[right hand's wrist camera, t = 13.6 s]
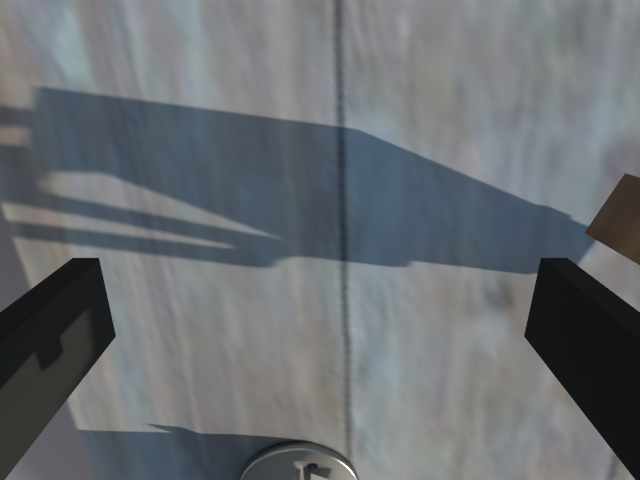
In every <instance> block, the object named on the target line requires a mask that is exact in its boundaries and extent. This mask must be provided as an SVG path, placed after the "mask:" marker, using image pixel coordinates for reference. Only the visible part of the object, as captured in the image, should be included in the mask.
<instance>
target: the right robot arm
mask: <svg viewBox="0 0 640 480" xmlns="http://www.w3.org/2000/svg"><path fill="white" fill-rule="evenodd" d="M115 337H116V335H115V330H114V326H113V321H112V316H111V312H110V307H109V303H108V298H107V293H106V289H105V284H104V280H103V275H102V270H101V266H100V261H99V258H72V259H71V260H70V261H68V262H67V263H66V264H64V265H63V266H62V267H60V268H59V269H58V270H56V271H55V272H54V273H52V274H51V275H50V276H48V277H47V278H46V279H44V280H43V281H42V282H40V283H39V284H38V285H36V286H35V287H34V288H32V289H31V290H30V291H28V292H27V293H26V294H24V295H23V296H22V297H20V298H19V299H18V300H16V301H15V302H14V303H12V304H11V305H10V306H8V307H7V308H6V309H4V310H3V311H2V312H0V480H5V478H6V477H7V476H8V474H9V473H10V472H11V471H12V469H13V468H14V467H15V465H16V464H17V463H18V462H19V460H20V459H21V458H22V456H23V455H24V454H25V453H26V451H27V450H28V449H29V447H30V446H31V445H32V444H33V442H34V441H35V440H36V438H37V437H38V436H39V435H40V433H41V432H42V431H43V429H44V428H45V427H46V426H47V424H48V423H49V422H50V420H51V419H52V418H53V417H54V415H55V414H56V413H57V411H58V410H59V409H60V408H61V406H62V405H63V404H64V402H65V401H66V400H67V398H68V397H69V396H70V395H71V393H72V392H73V391H74V389H75V388H76V387H77V386H78V384H79V383H80V382H81V380H82V379H83V378H84V377H85V375H86V374H87V373H88V371H89V370H90V369H91V368H92V366H93V365H94V364H95V362H96V361H97V360H98V359H99V357H100V356H101V355H102V353H103V352H104V351H105V349H106V348H107V347H108V346H109V344H110V343H111V342H112V340H113V339H114V338H115ZM524 337H525V338H526V339H527V340H528V342H529V343H530V344H531V346H532V347H533V348H534V350H535V351H536V352H537V353H538V355H539V356H540V357H541V359H542V360H543V361H544V362H545V364H546V365H547V366H548V368H549V369H550V370H551V371H552V373H553V374H554V375H555V377H556V378H557V379H558V380H559V382H560V383H561V384H562V386H563V387H564V388H565V389H566V391H567V392H568V393H569V395H570V396H571V397H572V398H573V400H574V401H575V402H576V404H577V405H578V406H579V408H580V409H581V410H582V411H583V413H584V414H585V415H586V417H587V418H588V419H589V420H590V422H591V423H592V424H593V426H594V427H595V428H596V429H597V431H598V432H599V433H600V435H601V436H602V437H603V438H604V440H605V441H606V442H607V444H608V445H609V446H610V447H611V449H612V450H613V451H614V453H615V454H616V455H617V456H618V458H619V459H620V460H621V462H622V463H623V464H624V466H625V467H626V468H627V469H628V471H629V472H630V473H631V475H632V476H633V477H634V478H635V480H640V312H638V311H637V310H636V309H634V308H633V307H632V306H630V305H629V304H628V303H626V302H625V301H624V300H622V299H621V298H620V297H618V296H617V295H616V294H614V293H613V292H612V291H610V290H609V289H608V288H606V287H605V286H604V285H602V284H601V283H600V282H598V281H597V280H596V279H594V278H593V277H592V276H590V275H589V274H588V273H586V272H585V271H584V270H582V269H581V268H580V267H578V266H577V265H576V264H574V263H573V262H572V261H570V260H569V259H568V258H541V261H540V266H539V270H538V275H537V280H536V284H535V289H534V293H533V298H532V303H531V307H530V312H529V316H528V321H527V326H526V330H525V335H524ZM240 480H359V479H358V476H357V473H356V471H355V469H354V467H353V466H352V464H351V463H350V462H349V461H348V460H347V459H346V458H345V457H344V456H342V455H341V454H340V453H338V452H336V451H334V450H333V449H330V448H328V447H325V446H322V445H319V444H315V443H309V442H288V443H282V444H277V445H274V446H271V447H269V448H266V449H264V450H262V451H261V452H259V453H257V454H256V455H255V456H253V457H252V458H251V459H250V460H249V461H248V462H247V464H246V465H245V467H244V468H243V470H242V473H241V476H240Z"/></svg>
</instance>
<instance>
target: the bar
mask: <svg viewBox="0 0 640 480" xmlns="http://www.w3.org/2000/svg"><path fill="white" fill-rule="evenodd" d="M585 233H586V234H587V235H589V236H591V237H593V238H594V239H596V240H598V241H599V242H601V243H603V244H605V245H606V246H608V247H610V248H611V249H613V250H615V251H617V252H618V253H620V254H622V255H623V256H625V257H627V258H629V259H630V260H632V261H634V262H635V263H637V264H639V265H640V178H639V177H636V176H633V175H629V174H626V173H625V174H624V176H623V177H622V179H621V180H620V182H619V183H618V185H617V186H616V187H615V189H614V190H613V192H612V193H611V195H610V196H609V198H608V199H607V201H606V202H605V204H604V205H603V207H602V208H601V210H600V211H599V212H598V214H597V215H596V217H595V218H594V220H593V221H592V223H591V224H590V226H589V227H588V229H587V230H586V232H585Z"/></svg>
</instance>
